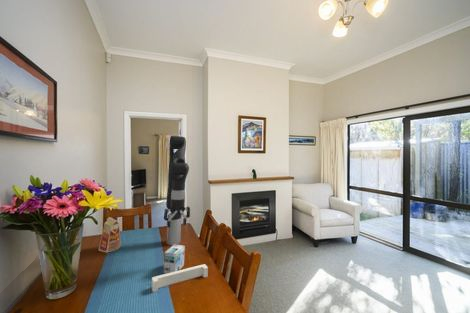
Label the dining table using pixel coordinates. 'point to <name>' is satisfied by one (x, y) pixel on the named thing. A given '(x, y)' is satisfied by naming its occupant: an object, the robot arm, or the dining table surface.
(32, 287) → the dining table surface
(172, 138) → the robot arm
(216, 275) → the dining table surface
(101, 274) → the dining table surface
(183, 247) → the light bulb box
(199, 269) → the board
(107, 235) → the milk carton
